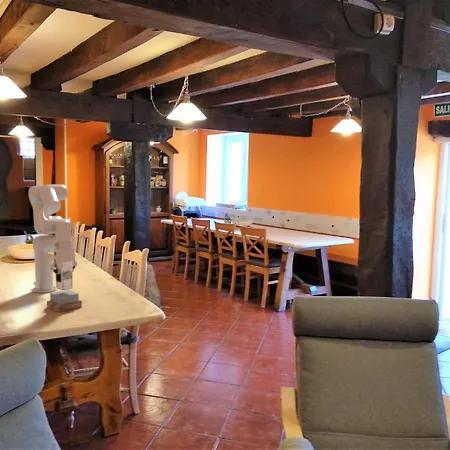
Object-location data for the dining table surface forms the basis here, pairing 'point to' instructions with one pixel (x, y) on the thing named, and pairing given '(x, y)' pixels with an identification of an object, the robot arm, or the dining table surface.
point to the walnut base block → (64, 306)
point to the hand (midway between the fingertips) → (64, 280)
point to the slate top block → (64, 297)
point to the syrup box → (65, 277)
